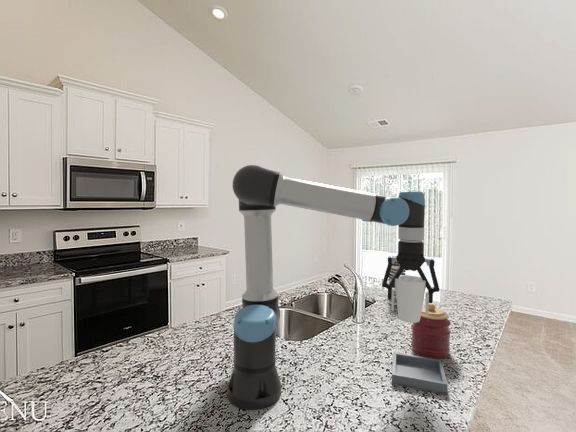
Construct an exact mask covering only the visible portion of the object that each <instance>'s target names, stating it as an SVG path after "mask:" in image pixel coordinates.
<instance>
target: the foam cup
mask: <svg viewBox="0 0 576 432" xmlns="http://www.w3.org/2000/svg"><path fill="white" fill-rule="evenodd" d="M394 285H395V291H396V300H397V305H396V306H397V307H396V308H397V315H398V320H400V321H401V322H405V323H408V324H409V323H412V324H413V323H416V322H419V321H420V318H421V311H422V307H423V306H424V305H423V304H424V298H425V294H426V289H427V287H426V281H425V280H422V278H421V276H420V275H412V274H406V275H400V276H399V278H398V279H397V278H395V284H394Z"/></svg>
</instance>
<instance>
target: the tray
mask: <svg viewBox="0 0 576 432" xmlns="http://www.w3.org/2000/svg"><path fill="white" fill-rule="evenodd" d="M392 353H393V354H392V369H391V370H392V371H391V385H393V386H400V387H404V388H409V389H415V390H421V391H426V392H429V393H436V394H441V395H445V396H447V395H448V381H447V377H446V373H445V370H444V369H445V368H444V365H443V361H442V360H443V359H433V358H427V357H424V356H421V355H419V356H418V355H412V354H407V353H400V352H392Z"/></svg>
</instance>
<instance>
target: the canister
mask: <svg viewBox="0 0 576 432" xmlns="http://www.w3.org/2000/svg"><path fill="white" fill-rule="evenodd" d="M451 324H452V321H451V320H450V319H449V314H448V313H447V312H445V311H444V309H442V308H439V307H436V306H435V304H434V303H429V314H426V313H425V306H424V305H422V311H421V318H420V321H419V322H416V323H412V324H411V341H410V343H411V344H410V345H411V349H412V351H413V352H414V353H415V354H417V355H419V356H420V357H426V358H432V359H438V360H443V359H446V358H448V356H449V355H450V350H451V347H450V344H451V343H450V341H451V330H450V325H451Z"/></svg>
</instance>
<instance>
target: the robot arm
mask: <svg viewBox="0 0 576 432" xmlns="http://www.w3.org/2000/svg"><path fill="white" fill-rule="evenodd" d="M232 190H233V193H234V195H235V197H236V198H237V199H238V211H239V213H240V214H241V215H243V220H244V223H243V225H244V250H245V252H244V254H245V279H246V281H245V282H246V283H245V284H246V290H245V291H244V292H243V294H242V296H241V306H242V307H241V308H239V310H237V312H236V313H235V315H234V319H233V325H232V326H233V368H232V371H231V375H230V378H229V381H228V384H227V389H226V390H227V399H228V401H229V402H230V403H231V404H232V405H233V406H236V407H238V408H240V409H243V410H244V409H245V410H260V409H264V408H268V407H270V406H272V405H274V404H275V403H276V402H277V401H279V399H280V398H281V395H282V382H281V379H280V376H279V373H278V369H277V367H276V344H277V343H276V341H277V340H276V338H277V332H278V327H279V321H280V318H281V310H280V306H279V294H278V292H277V291H276V290H275V288H274V274H273V273H274V269H273V266H274V265H273V241H272V240H273V239H272V238H273V237H272V233H273V232H272V215H273V213H275V211H276V208H277V207H278V206H279V205H284V206H289V207H294V208H299V209H300V208H301V209H304V210H309V211H310V210H311V211H316V212H322V213H326V214H332V215H337V216H341V217H342V216H343V217H348V218H353V219H359V220H361V221H362V222H369V223H372V222H373V223H378V224H383V225H386V226H389V227H390V226H391V227H395V226H398V229H397V230H398V232H397V239H398V242H397V255H396V256H397V257H392V256H391V255H388V257H387V267H386V269H385V274H384V277H383V280H382V283H381V284H382V287H383V288H385V289H387V300H388V299H391V304H390V305H391V308H390V310H391V311H395V305H394V288H393V286H394V284H395V278H397V279H398V278H399V276H400V275H401V273H402V272H403V270H405V271H413V272H416V271H417V272H418V276H419V277H421V278H422V280H425V281H426V289H427V290H425V294H424V298H425V300H424V301H425V304H424V305H425V313H426V314H429V304H433V302H434V293H437V292H440V286H439V283H438V279H437V275H436V271H435V262H436V261H435V259H434V258H426V257H425V255H424V254H425V253H424V252H425V251H424V250H425V249H424V247H425V244H424V243H425V242H423V241H424V240H425V212H426V211H425V210H426V209H425V208H426V200H425V199H426V198H425V193H424V192H423V191H419V190H418V191H417V190H416V191H415V190H414V191H413V190H411V191H410V190H409V191H408V190H407V191H406V190H405V191H403V190H402V191H400V192H399V193H398V197H397V196H388V195H387V196H386V195H381V194H375V193H372V192H367V191H362V190H356V189H355V190H354V189H351V188H345V187H340V186H334V185H329V184H324V183H320V182H313V181H309V180H308V181H307V180H302V179H299V178H298V179H297V178H293V177H292V178H291V177H286V176H285V175H284V173H282V172H280V171H276V170H272V169H268V168H265V167H262V166H259V165H256V164H255V165H254V164H248V165H245V166H243V167H241V168H240V169H239V170H237V172H236V173H235V175H234V176H233V179H232ZM396 260H397V261H398V263H399V264H400V267H399V268H398V270H397V272H396V273H395V275H394V277H393V278H392V280H391V282H390V283H389V281H388V279H389V274H390V271H391V267H392V264H394V262H395V261H396ZM424 263H425V264H426V266H427V267H428V268H429V271H430V276H431V280H432V284H433V286H431V284H430V282H429V280H428V278H427V277H426V274H425V273H424V271H423V269H422V266H423V265H424Z"/></svg>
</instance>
